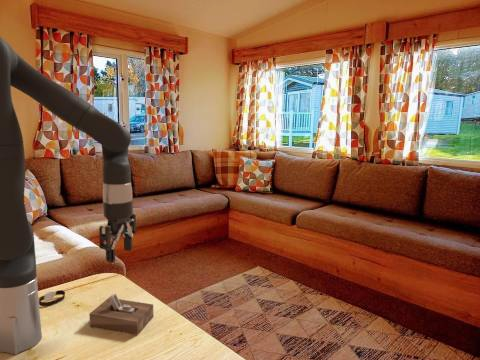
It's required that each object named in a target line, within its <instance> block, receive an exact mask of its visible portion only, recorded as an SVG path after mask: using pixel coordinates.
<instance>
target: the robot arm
mask: <svg viewBox="0 0 480 360" xmlns="http://www.w3.org/2000/svg"><path fill="white" fill-rule="evenodd" d="M12 87H13V88H14V89H16V90H19V92H21V93H23V94H25V95H26V96H28V97H29V98H31V99H32V100H34V101H36V102H37V103H38V104H40V105H41V106H42V107H43V108H45V109H46V110H48V111H49V112H50V113H52V114H53V115H54V116H56V117H57V118H59V119H60V120H62V121H63V122H66V123H67V124H68V125H70V126H72V127H73V128H74V129H76V130H78V131H80V132H82V133H84V134H85V135H88V136H89V137H90V138H91V139H93V140H94V141H95V142H97V143H98V144H100V145H101V152H102V159H103V160H102V162H103V164H102V181H103V182H102V183H103V184H102V186H103V187H102V205H103V206H102V209H103V211H102V212H103V217H104V218H105V219H107V224H106V225H100V226H99V227H98V231H99V232H98V233H99V236H98V237H99V242H98V243H99V244H98V245H99V249H101V250H105V259H106V262H107V263H111V264H112V263H114V262H116V249H115V247H116V245H117V242H119V240H120V237H121V236H123V237H124V238H123V250H124V251H127V252H131V251H132V250H133V238H134V235H135V234H137V231H138V230H137V217H136V214H135V213H134V211H133V210H134V209H133V207H134V206H133V204H134V202H133V187H132V174H131V171H132V170H131V164H130V161H129V146H130V145H131V141H132V136H131V133H130V131H129V129H128V128H127V127H125V126H124V125H122V124H120V123H119V122H117V120H116V121H115V120H114V119H112V118H110V117H109V116H108V115H106V114H104V113H102V112H101V110H98V109H97V108H96V107H95V106H94V105H92V104H91V103H90V102H88V101H86V100H85V99H84V98H82V97H80V96H79V95H77V94H76V93H74V92H73V91H71V90H69V89H68V88H66V87H65V86H63V85H61V84H59V83H57V82H55V81H54V80H52V79H51V78H49V77H47V76H46V75H44V74H43V73H41V72H40V71H38V70H37V69H36V68H34V66H32V65H31V64H29V62H27V61H26V60H25V59H24V58H23V57H21V56H20V55H19V53H17V52H16V51H15V50H14V49H13V47H12V46H11V45H10V44H9V43H8V42H7V41H6V40H5V39H4V38H2V37H1V36H0V352H2V353H7V354H12V355H18V354H19V353H21V352H23V351H27V350H29V349H30V348H32V347H35V346H36V345H37V344H38V343H39V342H40V341H42V337H43V336H42V334H43V333H42V323H41V313H40V312H41V311H40V305H39V298H40V297H39V288H38V277H37V275H38V274H37V260H36V249H35V237H34V236H35V235H34V227H33V225H32V223H31V221H29V220H28V215H27V211H26V204H25V203H26V202H25V186H26V155H25V145H24V137H23V133H22V128H21V126H20V123H19V118H18V116H17V113H16V110H15V107H14V104H13V99H12V92H11V91H12V89H11V88H12ZM104 241H105V242H104Z"/></svg>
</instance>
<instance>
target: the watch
mask: <svg viewBox="0 0 480 360" xmlns="http://www.w3.org/2000/svg"><path fill="white" fill-rule="evenodd" d="M59 295H62V296H61V297H59V298H56V299H54V300H53V298H54V297H55V296H59ZM65 296H66V292H65V290H61V289H60V290H50V289H49V290H48V291H47V292H45V293H44V295H42V296H40V297H38V298H39V307H40V306H41V307H50V306H53V305H56V304H58V303H60V302H62V301H63V300H64V299H65ZM44 300H45V301H46V302H45V301H44ZM50 300H51V301H50Z"/></svg>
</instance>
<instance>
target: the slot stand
mask: <svg viewBox="0 0 480 360" xmlns="http://www.w3.org/2000/svg"><path fill="white" fill-rule="evenodd" d="M118 299H119V301H120V303H121V306H123V305H130V307H131V308H134V310H135V313H134V314H129V313H123V312H119V309H118V310H114V308H113V306H112V304H111V302H110V300H109V297H108V298H107V299H105V300H104V301H103V302H102V303H100V304H99V305H97V307H96V308H95V309H93V310H91V311H90V313H89V327H90V328H94V329H101V330H105V331H111V332H119V333H122V334H128V335H133V336H139V334H140V333H141V332H142V331H143V330H144V329H145V328H146V326H147V325H148V324H149V322H151V321H152V319H154V316H155V315H154V304H153V303H152V304H151V303H147V302H140V301H133V300H126V299H120V298H118Z"/></svg>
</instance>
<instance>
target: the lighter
mask: <svg viewBox="0 0 480 360" xmlns="http://www.w3.org/2000/svg"><path fill="white" fill-rule="evenodd" d="M108 298H109V300H110V302H111V304H112V306H113V308H114V310H118V309H119V312H123V313H129V314H134V313H135V310H134V308H131V307H130V305H123V306H121V303H120V301H119V299H120V298H118V296H117V294H116V293H113V294H111V295H110V296H108Z"/></svg>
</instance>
